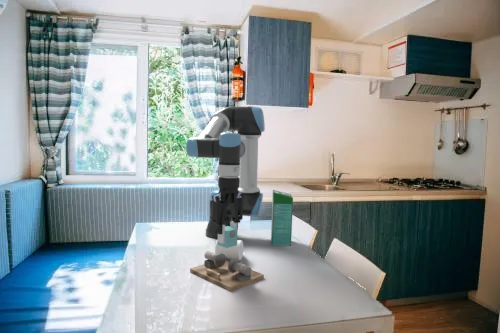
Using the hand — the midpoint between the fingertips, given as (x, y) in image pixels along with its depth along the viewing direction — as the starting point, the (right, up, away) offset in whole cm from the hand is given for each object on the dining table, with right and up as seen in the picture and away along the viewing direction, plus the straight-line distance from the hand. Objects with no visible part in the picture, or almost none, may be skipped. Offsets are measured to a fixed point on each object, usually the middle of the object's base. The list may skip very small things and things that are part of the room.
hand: (227, 241), depth 124 cm
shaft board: (0, -12, +1) cm, 12 cm away
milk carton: (+23, -10, +43) cm, 49 cm away
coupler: (0, -1, 0) cm, 1 cm away
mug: (0, -11, +20) cm, 23 cm away
